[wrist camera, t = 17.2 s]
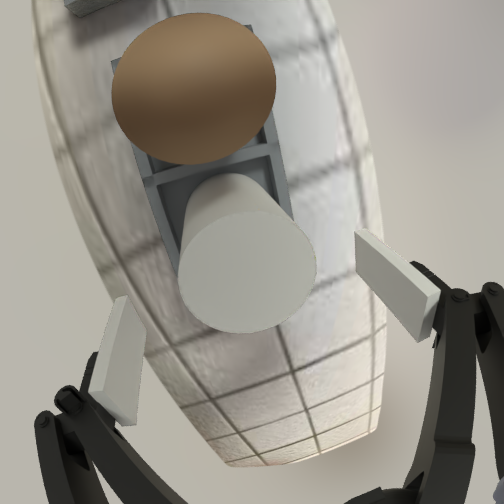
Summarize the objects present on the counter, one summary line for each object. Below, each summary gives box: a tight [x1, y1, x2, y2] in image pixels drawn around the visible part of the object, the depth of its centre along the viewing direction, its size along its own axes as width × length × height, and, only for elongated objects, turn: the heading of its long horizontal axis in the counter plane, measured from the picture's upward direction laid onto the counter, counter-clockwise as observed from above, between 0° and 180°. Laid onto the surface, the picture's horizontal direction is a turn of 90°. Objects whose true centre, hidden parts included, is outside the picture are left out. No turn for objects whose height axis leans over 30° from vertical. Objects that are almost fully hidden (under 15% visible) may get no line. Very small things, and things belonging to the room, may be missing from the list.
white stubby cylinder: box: [178, 173, 316, 334], centre depth 22 cm, size 8×8×12 cm
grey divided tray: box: [111, 25, 294, 278], centre depth 24 cm, size 23×12×3 cm, turn 13°
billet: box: [112, 13, 276, 165], centre depth 17 cm, size 8×8×12 cm
